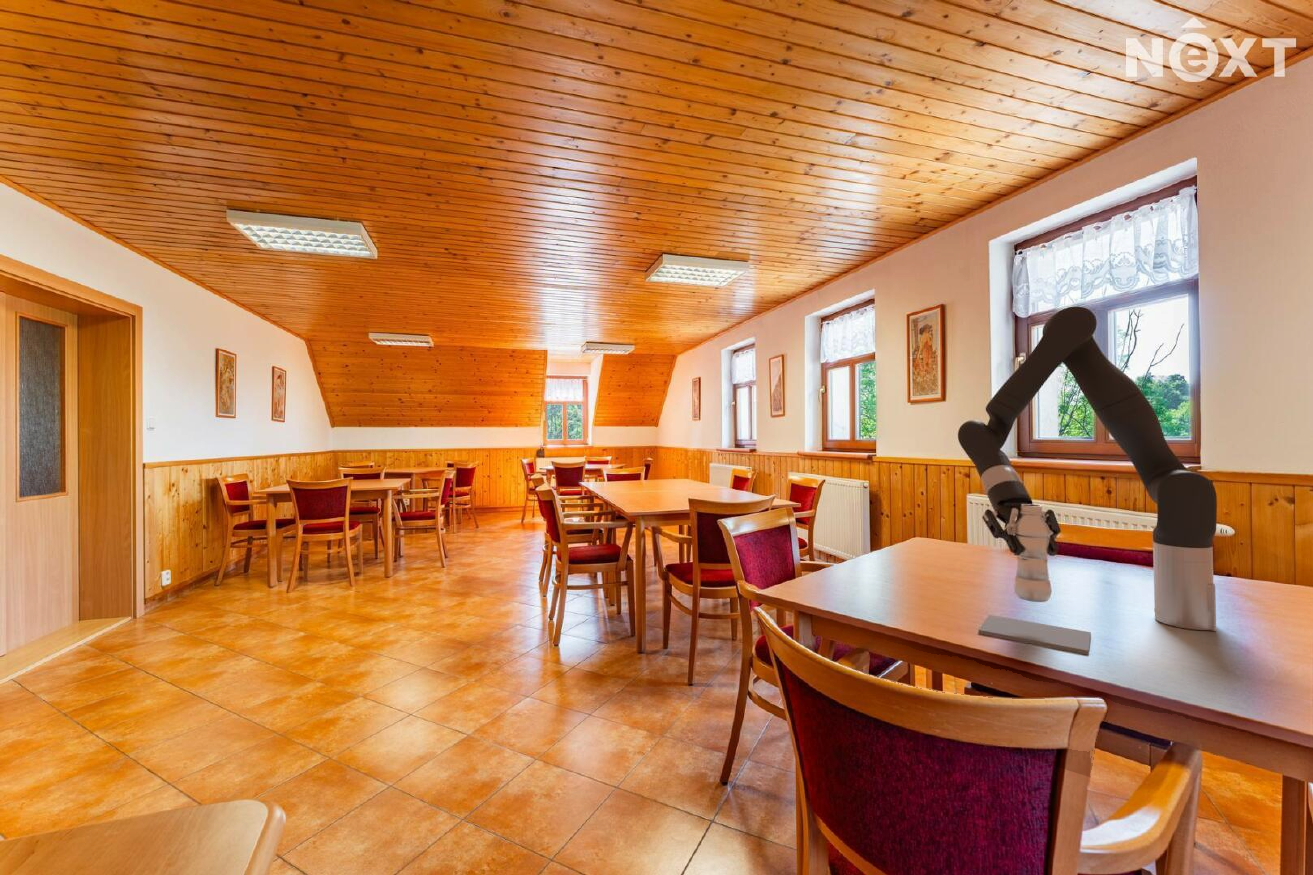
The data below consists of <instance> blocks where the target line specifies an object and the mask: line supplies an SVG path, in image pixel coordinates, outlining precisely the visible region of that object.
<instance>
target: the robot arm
mask: <svg viewBox="0 0 1313 875" xmlns="http://www.w3.org/2000/svg"><path fill="white" fill-rule="evenodd" d="M1097 322H1098V320H1097V318H1096V315H1095V314H1094V312H1093V311H1092V310H1091V309H1089V308H1088V307H1085V306H1080V305H1071V306H1067V307H1064V308H1061V309H1060V310H1057V311H1056V312H1055V313H1053V314H1052V315H1051V316H1050V318H1048V319H1047V321H1046V322H1045V323H1044V325H1043V328H1042V336H1041V338H1040V340H1039V341H1038V343H1037V344H1036V346H1035V347H1034V349H1033V350H1032V351H1031V353H1030V354H1029V355H1028V357H1027V358H1026V359H1025V361H1023V363H1022V364H1021V365H1019V367H1018V368H1017V369H1016V370H1015V371H1014V372H1013V373H1012V375H1011V376H1009V378H1008V379H1007V380H1006V381H1005V382H1004V383H1003V384H1002V385H1001V387H1000V388H999V389H998V390H997V391H996V393H995V394H994V395H993V397H992V398H991V399H990V400H989V402H988V403H987V404H986V406H985V412H986V414H987V415H988V417H989V420H988V422H987V424H985V422H982V421H980V420H976V419H972V420H967V421H965V422H964V423H962V424H961V425H960V427H959V428H958V432H957V439H958V443H959V445H960V447H961V448H962V450H963V451H964V452H965V454H966V455H967V457H968V458H969V459H970V461H971V462H972V463H973V464H974V466H975V469H976V471H977V473H978V475H979V478H980V479H981V480H980V481H981V483H982V487H983V489H984V492H985V494H986V496H987V498H988V500H989V503H990V504H991V507H992V509H993V511H992V510H991V509H986V510H985V512H984V513H983V514H982V516H981V518H982V520H983V522H984V524H985V525H986V527H987V529H988V530H989V532H990V534H991V535H992V537H993V538H995V539H1002V540H1004V541H1005V543H1006V545H1007V547H1008V549H1009V551H1010V552H1011V553H1013V554H1014V556H1017V555H1020V554H1021V552H1022V548H1021V546H1020V544H1019V542H1018V540H1017V538H1016V535H1014V526H1015V524H1016V523H1017V521H1018V520H1019V519H1020V518H1021V517H1022V514H1021V513H1020V511H1021V505H1022V504H1034V503H1033V500H1032V498H1031V495H1030V493H1029V492H1028V490H1027V488H1026V485H1025V484H1024V482H1023V481H1022V479H1021V476H1020V475H1019V474H1018V472H1017V471H1016V470H1015V468H1014V466H1013V464H1012V462H1011V460H1010V459H1009V457H1008V455H1007V454H1006V453H1005V452H1004V451H1003V450H1002V449H1003V447H1004V445H1005V443H1006V442H1007V439H1008V437H1009V436H1010V433H1011V430H1012V428H1013V426H1014V424H1015V421H1016V420H1017V418H1018V417H1019V416H1020V415H1021V414H1022V413H1023V412H1024V410H1025V409H1026V407H1027V406H1028V405H1029V404H1030V402H1031V401H1032V400H1033V399H1034V398H1035V396H1036V395H1037V393H1038V392H1039V391H1040V389H1041V388H1042V387H1043V386H1044V384H1045V383H1046V382H1047V380H1048V379H1049V378H1050V376H1052V374H1053V373H1054V372H1055V371H1056V369H1057V368H1058V367H1059V366H1061V364H1063V365H1065V367H1066V369H1067V370H1069V372H1070V374H1071V375H1072V377H1073V378H1074V381H1075V382H1076V384H1077V386H1078V387H1079V390H1080V391H1081V392H1082V394H1083V395H1084V397H1085V399H1086V401H1087V402H1088V404H1089V406H1090V407H1091V409H1092V411H1093V412H1094V413H1095V415H1096V416H1097V418H1098V420H1099V421H1100V422H1101V424H1102V425H1103V426H1104V427H1105V429H1106V430H1107V432H1108V434H1110V436H1111V437H1112V438H1113V440H1114V441H1115V442H1116V443H1117V445H1118V446H1119V447H1120V449H1121V450H1122V451H1123V452H1124V453H1125V455H1126V456H1127V457H1128V458H1129V460H1130V462H1131V464H1132V465H1133V467H1134V469H1135V470H1136V473H1137V474H1138V476H1139V478H1140V480H1141V483H1142V484H1143V486H1144V489H1145V491H1146V492H1147V494H1148V496H1149V497H1150V499H1151V500H1152V501H1153V502H1154V503H1155V504H1156V506H1157V513H1156V514H1157V516H1156V517H1157V518H1156V519H1157V520H1156V521H1157V522H1156V525H1155V527H1154V528H1153V530H1152V550H1153V551H1152V556H1153V557H1152V558H1153V561H1152V562H1153V591H1154V592H1153V594H1154V596H1153V598H1154V599H1153V600H1154V601H1153V602H1154V607H1153V609H1154V610H1153V611H1154V619H1155V621H1158V622H1160V623H1162V624H1164V625H1169V626H1171V627H1172V626H1173V627H1176V628H1181V629H1187V630H1195V631H1213V632H1217V604H1216V603H1217V602H1216V601H1217V600H1216V585H1215V583H1214V553H1213V551H1214V547H1213V546H1214V545H1213V542H1214V537H1215V535H1216V532H1217V523H1218V521H1217V518H1218V517H1217V513H1218V510H1217V509H1218V500H1217V499H1218V497H1217V496H1218V495H1217V492H1216V491H1217V490H1216V487H1215V485H1214V484H1213V482H1212V481H1211V480H1210V479H1208V477H1206V476H1205V475H1203V474H1200V473H1198V472H1195V471H1190V470H1189V469H1188V468H1187V467H1186V466H1185V465H1184V464H1183V463H1182V461H1181V460H1180V459H1179V458H1178V457H1177V456H1176V454H1175V453H1174V452H1173V451H1172V449H1171V448H1170V446H1169V443H1168V442H1167V440H1166V438H1165V435H1164V432H1163V429H1162V426H1161V422H1160V420H1159V418H1158V415H1157V413H1156V411H1155V410H1154V408H1153V406H1152V404H1151V403H1150V402H1149V400H1148V399H1147V398H1148V397H1146V396H1145V394H1144V393H1143V391H1142V390H1141V389H1140V387H1139V385H1137V384H1136V383H1135V382H1134V380H1133V379H1131V378H1130V377H1129V376H1128V375H1127V374H1126V373H1124V372H1123V371H1122V370H1121V369H1120V368H1118V367H1117V366H1116V365H1115V364H1113V363H1112V362H1111V361H1110V360H1109V359H1108V358H1107V357H1106V356H1105V354H1104V353H1103V351H1102V350H1101V349H1100V348H1101V347H1100V346H1099V345H1098V343H1097V342H1096V340H1095V338H1094V336H1093V335H1094V334H1095V332H1096V329H1097V325H1098V323H1097ZM1042 512H1043V515H1041V518H1042V519H1043V520H1044V521H1045V523H1046V524H1047V525H1048V527H1049V529H1050V540H1049V546H1048V556H1050V557H1054V556H1055V555H1056V554H1057V553H1058V551H1059V548H1060V547H1059V546H1058V544H1057V542H1056V538H1057V537H1058V535H1059V534H1060V533H1061V532H1062V530H1061V527H1060V524H1059V522H1058V519H1057V517H1056V514H1055V511H1054V510H1053V509H1047V510H1046V511H1043V510H1042ZM999 520H1000V521H1001V522H1002V523H1003V524H1004V526H1001V524H1000V522H999Z"/></svg>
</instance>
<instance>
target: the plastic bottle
mask: <svg viewBox="0 0 1313 875" xmlns="http://www.w3.org/2000/svg"><path fill="white" fill-rule="evenodd" d="M1042 511H1043V507H1042V505H1040V504H1034V503H1033V504H1022V505H1021V511H1020V513H1021V514H1022V517H1021V518H1020V519H1019V520H1018V521H1017V523H1016V524H1015V526H1014V534H1013V535H1016V538H1017V540H1018V542H1019V544H1020V546H1021V548H1022V552H1021V554H1020V555H1016V572H1015V578H1014V584H1013V588H1014V594H1016V596H1017V598H1019V599H1021V600H1023V601H1028V602H1033V603H1046V602H1048V601H1049V600H1050V599H1051V595H1052V593H1053V592H1052V585H1051V580H1050V576H1049V567H1048V560H1049V559H1048V556H1049V554H1048V546H1049V540H1050V529H1049V527H1048V525H1047V524H1046V523H1045V521H1044V520H1043V519H1042V518H1041V515H1043V512H1044V511H1043V512H1042Z"/></svg>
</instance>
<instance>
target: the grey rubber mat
mask: <svg viewBox="0 0 1313 875" xmlns="http://www.w3.org/2000/svg"><path fill="white" fill-rule="evenodd" d="M978 634H979V635H984V636H990V637H995V638H1000V639H1004V640H1005V639H1006V640H1010V641H1015V642H1020V643H1025V642H1026V643H1025V644H1031V645H1035V646H1036V645H1037V646H1041V647H1045V648H1050V649H1051V648H1052V649H1057V650H1061V651H1067V652H1071V653H1075V654H1081V655H1087V656H1088V655H1089V654H1090V653H1089V652H1090V647H1091V646H1090V645H1091V638H1092V632H1091V631H1086V630H1079V629H1075V628H1074V629H1073V628H1069V627H1068V628H1067V627H1062V626H1057V625H1050V624H1046V623H1038V622H1034V621H1029V620H1028V621H1027V620H1022V619H1015V618H1010V617H1005V616H999V615H994V614H988V615H987V617H986V618H985V620H984V621H983V622H982V624H981V626H980V627H979V629H978Z"/></svg>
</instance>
